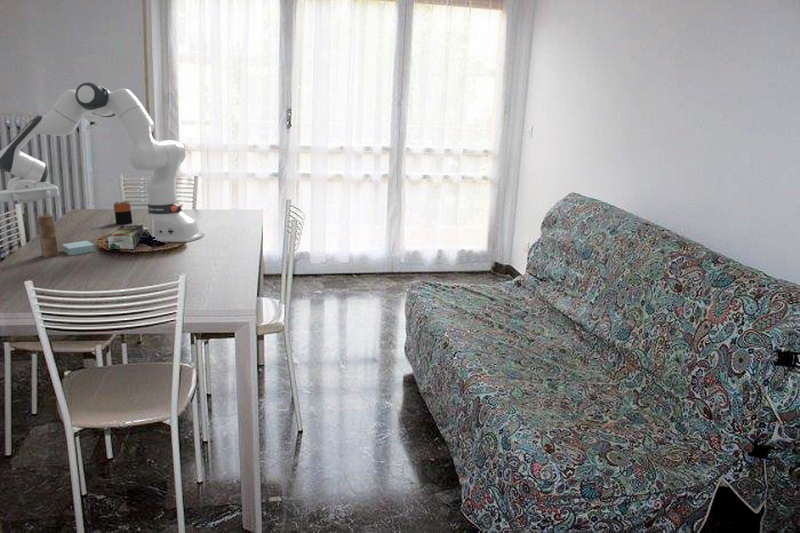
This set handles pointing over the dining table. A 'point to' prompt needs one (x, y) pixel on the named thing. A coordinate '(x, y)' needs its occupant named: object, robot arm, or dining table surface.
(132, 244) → the juice carton
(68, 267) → the dining table surface
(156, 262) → the dining table surface
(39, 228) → the walnut post
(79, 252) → the teal block
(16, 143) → the robot arm
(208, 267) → the dining table surface
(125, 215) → the battery
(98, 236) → the dining table surface
